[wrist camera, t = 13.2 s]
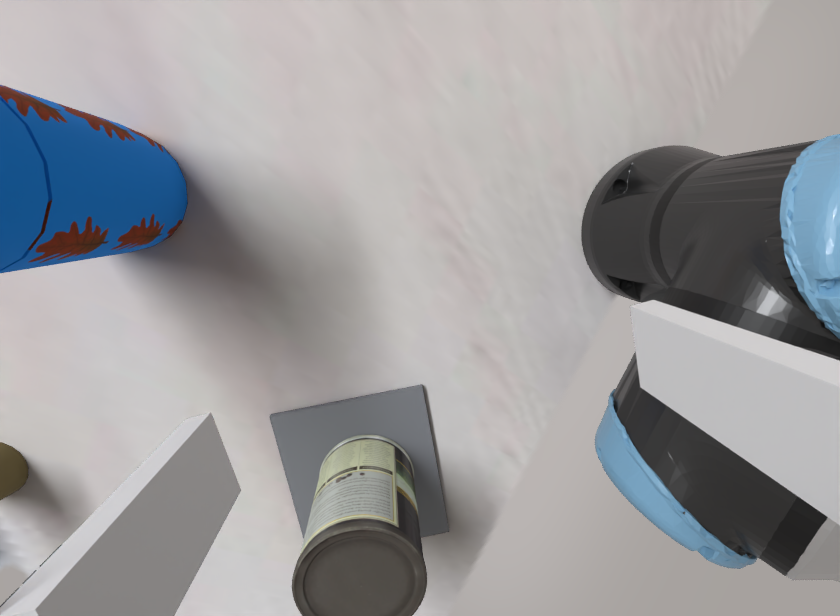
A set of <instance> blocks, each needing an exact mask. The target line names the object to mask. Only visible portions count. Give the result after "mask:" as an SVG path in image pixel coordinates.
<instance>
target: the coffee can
mask: <svg viewBox="0 0 840 616" xmlns="http://www.w3.org/2000/svg"><path fill="white" fill-rule="evenodd" d="M426 587H427V572H426V566H425V562H424V558H423V552H422V543H421V535H420V527H419V518H418V509H417V501H416V492H415V484H414V469H413V465H412V462H411V460H410V458H409V456H408V454H407V453H406V452H405V450H404V449H403V448H402V447H401V446H399V445H398V444H397V443H395V442H394V441H392V440H390V439H388V438H385V437H382V436H378V435H357V436H354V437H351V438H348V439H346V440H344V441H342V442H340V443H339V444H337V445H336V446H335V447H334V448H333V449H332V450H331V451H330V452H329V453H328V454H327V455H326V457H325V459H324V461H323V463H322V465H321V468H320V473H319V480H318V484H317V488H316V492H315V496H314V501H313V505H312V508H311V512H310V517H309V521H308V525H307V529H306V533H305V537H304V541H303V545H302V549H301V553H300V557H299V559H298V561H297V564H296V567H295V570H294V574H293V579H292V592H293V597H294V601H295V603H296V606H297V607H298V609H299V611H300V613H301V614H302V616H412V615H413V614H414V613H415V612H416V610H417V609H418V607H419V606H420V604H421V602H422V600H423V598H424V595H425V592H426Z"/></svg>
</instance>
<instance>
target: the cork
mask: <svg viewBox="0 0 840 616" xmlns="http://www.w3.org/2000/svg"><path fill="white" fill-rule="evenodd" d="M27 478H28V466H27V463H26V460H25V459H24V458H23V456H22V455H21V454H20V453H19V452H18V451H17V450H15V449H14V448H13V447H11V446H9V445H6V444H4V443H0V500H2V499H3V498H5V497H7V496H8V495H10V494H12V493H14V492H15V491H17V490H19V489H20V488H21V487H22V486H23V485H24V484H25V482H26V480H27Z"/></svg>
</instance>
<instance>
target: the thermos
mask: <svg viewBox="0 0 840 616" xmlns="http://www.w3.org/2000/svg"><path fill="white" fill-rule="evenodd" d="M187 204H188V202H187V189H186V182H185V179H184V177H183V175H182V172H181V170H180V168H179V166H178V163H177V162H176V161H175V160H174V159H173V157H172V156H171V155H170V154H169V153H168V152H167V151H166V150H165V148H164V147H163V146H162V145H160V144H158V143H157V142H155V141H153V140H152V139H150V138H148V137H147V136H145V135H143V134H141V133H139V132H136V131H134V130H132V129H130V128H127V127H125V126H123V125H120V124H118V123H115V122H112V121H109V120H106V119H103V118H100V117H97V116H94V115H91V114H88V113H85V112H82V111H79V110H76V109H72V108H69V107H66V106H63V105H60V104H57V103H54V102H51V101H48V100H45V99H42V98H39V97H36V96H33V95H30V94H27V93H24V92H21V91H18V90H15V89H12V88H9V87H6V86H3V85H0V273H5V272H11V271H17V270H23V269H29V268H35V267H41V266H48V265H54V264H60V263H66V262H72V261H78V260H84V259H90V258H97V257H103V256H109V255H115V254H121V253H127V252H133V251H136V250H140V249H144V248H147V247H151V246H154V245H156V244H158V243H160V242H161V241H163V240H165V239H167V238H169V237H170V236H171V235H172V234H173V233H174V231H175V230H176V229H177V228H178V226H179V225H180V224H181V223H182V220H183V217H184V214H185V210H186V207H187Z"/></svg>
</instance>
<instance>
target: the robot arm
mask: <svg viewBox="0 0 840 616" xmlns="http://www.w3.org/2000/svg"><path fill="white" fill-rule="evenodd" d="M582 246H583V251H584V255H585V258H586V261H587V263H588V265H589V267H590V269H591V271H592V272H593V274H594V275H595V277H596V278H597V279H598V280H599V281H600V282H601V283H602V284H603V285H604V286H605V287H606V288H608V289H609V290H611V291H612V292H614V293H616V294H618V295H621V296H623V297H626V298H629V299H631V300H635V301H638V302H642V303H639V304H635V305H631V306H630V313H631V320H632V328H633V335H634V343H635V353H634V355H633V357H632V359H631V361H630V363H629V365H628V367H627V369H626V371H625V373H624V375H623V377H622V378H621V380H620V382H619V384H618V386H617V388H616V389H614V390H613V391H612V393H611V394H610V396H609V400H608V401H609V402H608V406H607V409H606V411H605V414H604V416H603V418H602V421H601V423H600V425H599V427H598V429H597V433H596V436H595V448H596V452H597V454H598V458H599V460H600V461H601V463H602V466H603V468H604V470H605V472H606V474H607V475H608V477H609V478H610V479H611V481H612V482H613V483H614V485H615V486H616V487H617V488H618V490H619V491H620V492H621V493H622V494H623V495H624V496H625V497H626V499H627V500H628V501H629V502H630V503H631V504H632V505H633V506H634V507H635V508H637V510H639V512H641V513H642V514H643V515H644V516H645V517H646V518H647V519H649V520H650V521H651V522H652V523H653V524H654V525H656V526H657V527H658V528H659V529H661V530H662V531H663V532H664V533H666V534H667V535H668V536H670V537H671V538H672V539H674V540H675V541H676V542H678V543H679V544H681V545H682V546H684V547H685V548H687V549H689V550H691V551H696V550H697V551H698V552H699V553H700V554H701V555H702V556H703V557H705V558H706V559H707V560H708V561H711V562H713V563H715V564H717V565H720V566H723V567H727V568H737V569H740V568H743V567H745V566H746V565H751V564H753V563H754V562H756V560H757V558H760V559H761V560H763V561H764V562H766V563H767V564H769V565H770V566H772V567H773V568H775V569H776V570H777V571H779V572H780V573H782V574H783V575H785V576H787V577H788V578H790V579H792V580H835V581H839V582H840V134H837V135H832V136H828V137H826V138H823V139H821V140H816V141H810V142H805V143H799V144H793V145H787V146H781V147H776V148H770V149H764V150H758V151H753V152H747V153H741V154H735V155H729V156H723V157H722V156H719V155H715V154H712V153H709V152H706V151H703V150H699V149H696V148H693V147H688V146H663V147H658V148H653V149H649V150H645V151H641V152H638V153H636V154H633V155H631V156H629V157H627V158H625V159H624V160H622V161H621V162H619V163H618V164H616V165H615V166H614V167H613V168H612V169H610V170H609V171H608V172H607V173H606V174H605V175H604V177H603V178H602V179H601V180H600V182H599V183H598V184H597V186H596V187H595V189H594V191H593V192H592V194H591V196H590V198H589V200H588V203H587V206H586V209H585V212H584V216H583V221H582ZM240 491H241V489H240V486H239V483H238V481H237V478H236V476H235V473H234V470H233V468H232V465H231V463H230V460H229V458H228V455H227V452H226V450H225V447H224V445H223V442H222V439H221V437H220V434H219V432H218V429H217V426H216V424H215V421H214V419H213V416H212V414H211V413H207V414H203V415H199V416H195V417H191V418H187V419H185V420H184V422H183V423H182V424H181V425H180V426H179V427H178V428H177V429H176V430H175V431H174V432H173V433H172V434H171V435H170V436H169V437H168V438H167V439H166V440H165V441H164V442H163V443H162V444H161V445H160V446H159V447H158V448H157V449H156V450H155V451H154V452H153V453H152V454H151V455H150V456H149V457H148V458H147V459H146V460H145V461H144V462H143V463H142V464H141V465H140V466H139V467H138V468H137V469H136V470H135V471H134V472H133V473H132V474H131V475H130V476H129V477H128V478H127V479H126V480H125V481H124V482H123V483H122V484H121V485H120V486H119V487H118V488H117V489H116V490H115V491H114V492H113V494H112V495H111V496H110V497H109V498H108V499H107V500H106V501H105V502H104V503H103V504H102V505H101V506H100V507H99V508H98V509H97V510H96V511H95V512H94V513H93V514H92V515H91V516H90V517H89V518H88V519H87V520H86V521H85V522H84V523H83V524H82V525H81V526H80V527H79V528H78V529H77V530H76V531H75V532H74V533H73V534H72V535H71V536H70V537H69V538H68V539H67V540H66V541H65V542H64V543H63V544H62V545H60V546H59V547H58V548H57V549H56V550H55V551H54V552H53V553H52V554H51V555H50V556H49V557H48V558H47V559H46V560H45V561H44V562H43V563H42V564H41V565H40V568H39V569H38V570H35V571H34V573H33V574H32V575H31V576H30V577H29V578H28V579H27V580H26V581H25V582H24V583H23V585H22V586H21V587H20V588H18V589H17V590H16V591H15V592H14V593H13V594H12V595H11V596H10V597H9V598H8V599H7V600H6V601H5V602H4V603H3V604H2V605H1V606H0V616H174V615H175V613H176V611H177V609H178V607H179V606H180V604H181V602H182V600H183V598H184V596H185V594H186V592H187V591H188V589H189V587H190V585H191V583H192V581H193V579H194V577H195V576H196V574H197V572H198V570H199V568H200V566H201V564H202V562H203V561H204V559H205V557H206V555H207V553H208V551H209V549H210V547H211V546H212V544H213V542H214V540H215V538H216V536H217V534H218V532H219V531H220V529H221V527H222V525H223V523H224V521H225V519H226V517H227V516H228V514H229V512H230V510H231V508H232V506H233V504H234V503H235V501H236V499H237V497H238V495H239V493H240Z"/></svg>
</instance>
